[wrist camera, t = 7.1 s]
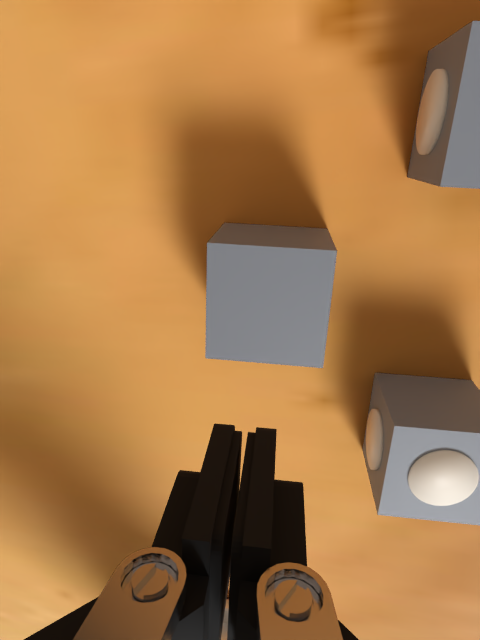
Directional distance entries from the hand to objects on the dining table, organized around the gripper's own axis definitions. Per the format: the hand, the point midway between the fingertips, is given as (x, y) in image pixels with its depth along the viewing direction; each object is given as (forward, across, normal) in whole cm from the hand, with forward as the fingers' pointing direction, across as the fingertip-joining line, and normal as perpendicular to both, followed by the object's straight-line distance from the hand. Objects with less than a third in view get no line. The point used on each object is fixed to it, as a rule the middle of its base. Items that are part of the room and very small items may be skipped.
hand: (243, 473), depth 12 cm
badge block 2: (+17, -10, +8) cm, 21 cm away
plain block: (+17, 0, -1) cm, 17 cm away
